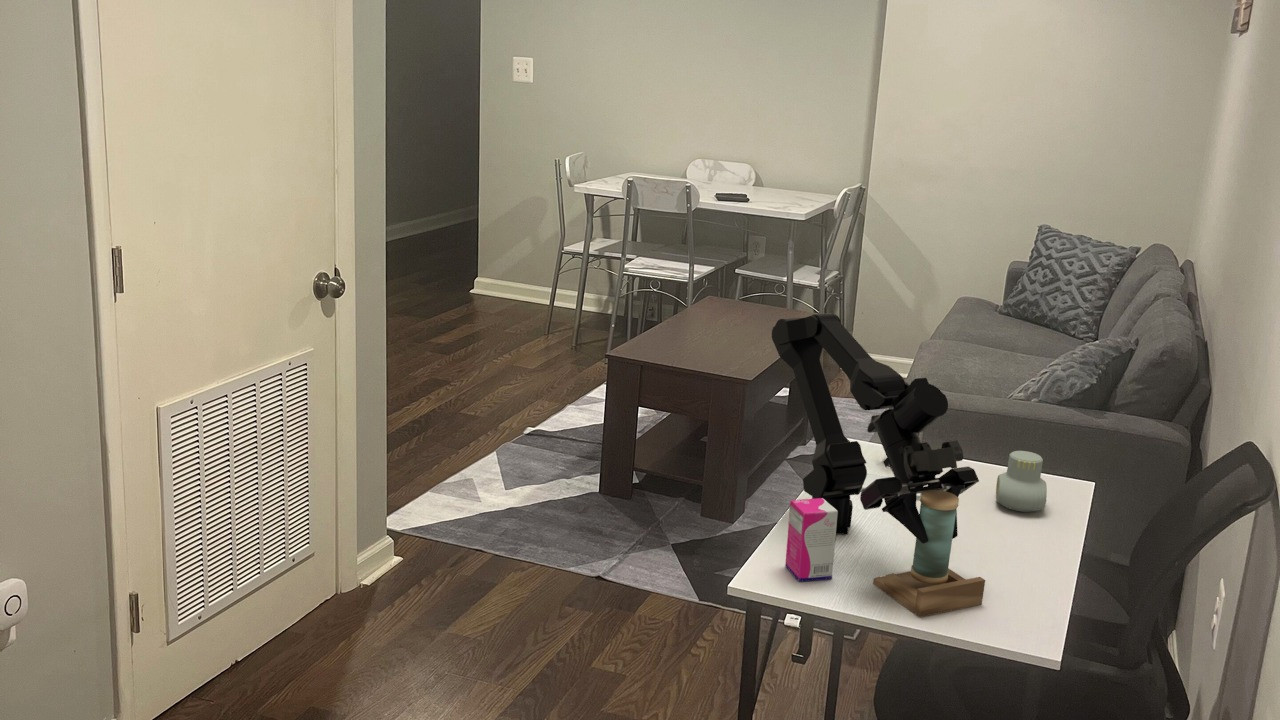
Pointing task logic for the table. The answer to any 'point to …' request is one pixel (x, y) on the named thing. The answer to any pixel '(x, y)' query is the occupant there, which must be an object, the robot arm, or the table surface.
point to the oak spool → (935, 537)
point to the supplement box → (811, 539)
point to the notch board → (932, 592)
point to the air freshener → (1022, 483)
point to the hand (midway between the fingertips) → (940, 540)
